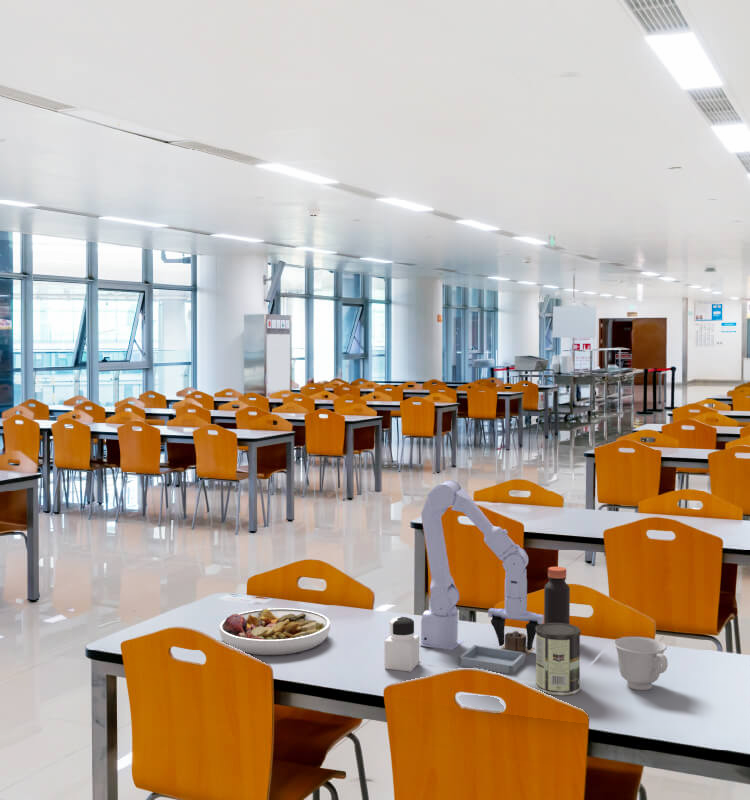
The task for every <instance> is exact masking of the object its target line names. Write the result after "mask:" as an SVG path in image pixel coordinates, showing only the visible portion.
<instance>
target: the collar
mask: <svg viewBox="0 0 750 800" xmlns="http://www.w3.org/2000/svg"><path fill="white" fill-rule="evenodd" d="M504 645H505V650H511V651H517V652H525V651H526V647H527V634H525V633H522V632H518V637H513V631H512V632H507V633H506V634H505V633H504Z"/></svg>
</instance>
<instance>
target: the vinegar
mask: <svg viewBox="0 0 750 800" xmlns="http://www.w3.org/2000/svg"><path fill="white" fill-rule="evenodd" d="M547 578H548V582H547V583H545V585H544V593H543V595H544V597H543V598H544V599H543V600H544V602H543V604H544V605H543V609H544V611H543V613H544V614H543V615H544V622H543V624H544V623H566V624H571V623H570V620H571V619H570V618H571V617H570V613H571V612H570V611H571V610H570V609H571V607H570V603H571V601H570V598H571V594H570V593H571V591H570V590H571V588H570V586H569V584H568V583H567V582H566V579H567V568H565V567H563V566H550V567H548V568H547Z"/></svg>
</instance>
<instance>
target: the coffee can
mask: <svg viewBox="0 0 750 800" xmlns="http://www.w3.org/2000/svg"><path fill="white" fill-rule="evenodd" d="M580 637H581V629H580V628H579V627H578V626H576V625H573V624H571V623H570V624H566V623H544V622H543V623H542V624H540V625H538V626H536V634H535V643H536V644H535V646H536V647H535V648H536V649H535V653H536V654H535V656H536V657H535V665H536V666H535V667H536V668H535V672H536V673H535V687H536V689H537V690H538V689H539V690H541V691H543V692H546V693H548V694H547V695H550V694H551V695H552V696H571V695H574V694H578V693H579V691H580V690H581V687H580V683H581V682H580V681H581V680H580V669H581V668H580V666H581V665H580V663H581V662H580V657H581V655H580V654H581V653H580V647H581V644H580V643H581V642H580V641H581V640H580ZM539 690H538V691H539ZM541 691H540V692H541ZM543 692H542V693H543ZM546 693H545V694H546Z"/></svg>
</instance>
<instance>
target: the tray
mask: <svg viewBox="0 0 750 800" xmlns="http://www.w3.org/2000/svg"><path fill="white" fill-rule="evenodd" d="M526 662H527V656H526V653H524V652H517V651H511V650H504V649H501V648H497V647H489V646H484V645H479V644H478V645H477V644H473V645H471V647H470V648H468V649H467V650H466V651H465V652H463V653H462V654H461V655H460V656H458V666H459V667H465V668H471V667H475V668H474V669H477V668H483V669H488V670H487V671H489V670H491V671H490V672H495V671H497V672H496V673H502V674H507V675H513V674H514V673H515V672H516V671H518V669H519V668H520V667H521V666H522V665H523V664H524V663H526ZM483 669H482V670H483Z"/></svg>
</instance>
